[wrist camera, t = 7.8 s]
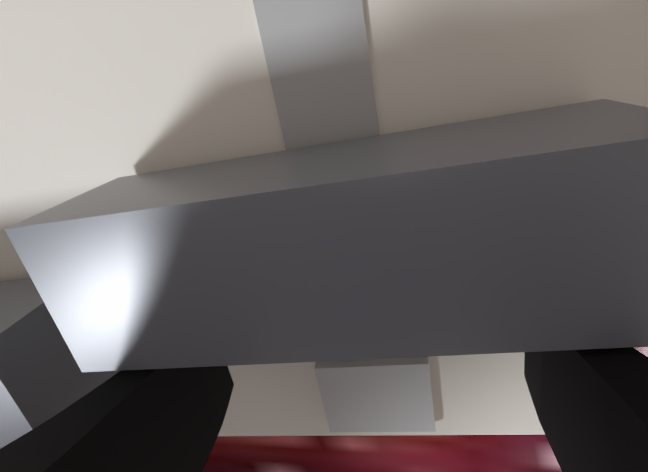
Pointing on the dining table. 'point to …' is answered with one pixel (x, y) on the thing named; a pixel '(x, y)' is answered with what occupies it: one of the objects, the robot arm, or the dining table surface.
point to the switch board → (298, 141)
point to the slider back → (35, 363)
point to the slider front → (361, 248)
